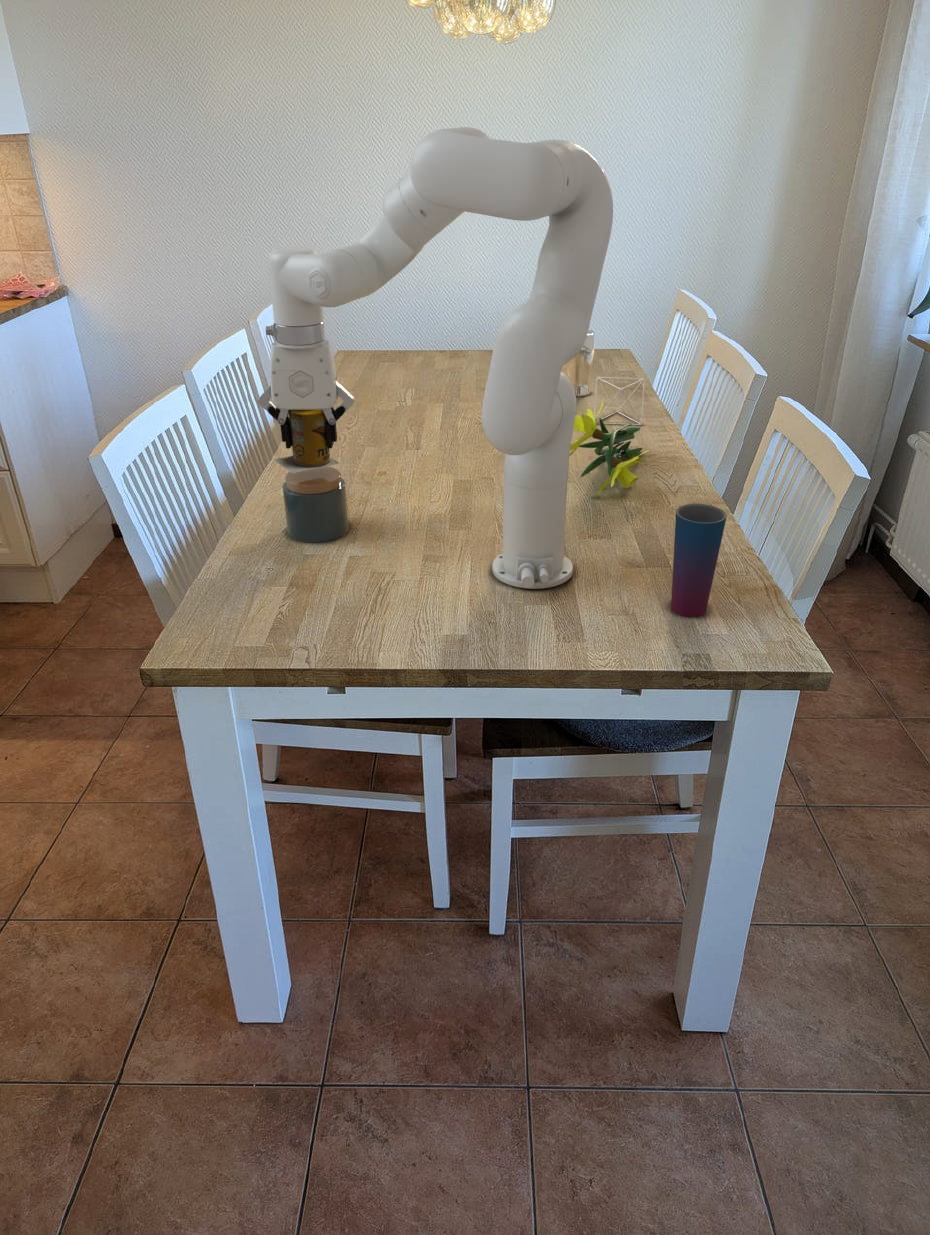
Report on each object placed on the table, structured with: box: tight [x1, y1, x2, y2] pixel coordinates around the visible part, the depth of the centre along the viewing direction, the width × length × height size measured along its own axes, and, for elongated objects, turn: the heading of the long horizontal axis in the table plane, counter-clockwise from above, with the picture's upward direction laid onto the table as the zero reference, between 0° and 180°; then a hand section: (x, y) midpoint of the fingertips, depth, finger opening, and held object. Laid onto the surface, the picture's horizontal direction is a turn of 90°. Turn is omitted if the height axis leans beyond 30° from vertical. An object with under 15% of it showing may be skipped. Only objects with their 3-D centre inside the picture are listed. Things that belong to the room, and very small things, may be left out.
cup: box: [670, 503, 728, 618], centre depth 129 cm, size 7×7×15 cm
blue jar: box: [282, 466, 349, 544], centre depth 155 cm, size 10×10×10 cm
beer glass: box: [565, 329, 595, 397], centre depth 226 cm, size 7×7×15 cm
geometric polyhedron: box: [593, 376, 646, 426], centre depth 208 cm, size 12×11×9 cm
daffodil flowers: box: [570, 397, 654, 498], centre depth 174 cm, size 17×15×35 cm
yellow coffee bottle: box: [274, 410, 340, 473], centre depth 149 cm, size 7×8×12 cm
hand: (310, 444), depth 150 cm, fingers closed on yellow coffee bottle, 6 cm apart
